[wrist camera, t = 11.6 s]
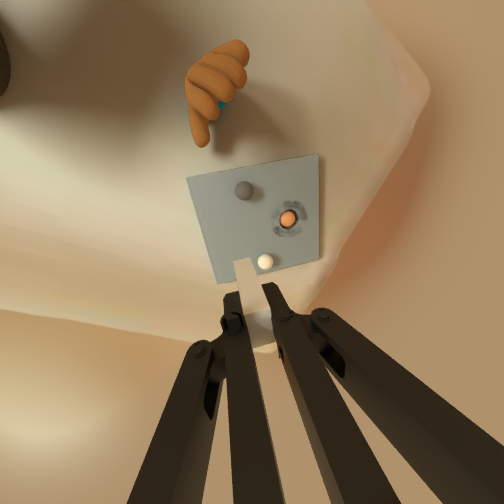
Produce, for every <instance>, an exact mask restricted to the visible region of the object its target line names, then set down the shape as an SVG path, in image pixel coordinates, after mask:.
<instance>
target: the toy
mask: <svg viewBox="0 0 504 504" xmlns="http://www.w3.org/2000/svg"><path fill="white" fill-rule="evenodd" d="M249 57H250V56H249V50H248V48H247V46H246V45H245V44H244V43H243V42H242V41H240V40H233V41H230V42H228V43H225V44H223V45H221V46H219V47H217V48H215V49H214V50H212V51H211V52H209V53H207V54H205V55H204V56H203V57H202V58H201V59H200V60H199V61H198V62H197V63H195V64H194V65H193V66H192V67H191V68H190V69H189V70H188V72H187V74H186V78H185V96H186V99H187V105H188V112H189V120H190V126H191V131H192V135H193V138H194V141H195V143H196V145H197V146H198V147H200V148H202V147H205V146H206V145H207V144H208V143H209V141H210V134H209V129H208V125H209V121H210V120H216V119H217V118H218V117H219V115H220V112H221V110H222V109H223V108H224V106H225V105H226V103H229V102H231V101H232V100H233V98H234V95H235V89H234V88H236V89H242V88H243V87H244V86H245V84H246V80H247V75H246V71H245V69H244V68H243V67H245V66H246V65H247V63H248V61H249Z"/></svg>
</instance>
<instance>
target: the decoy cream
mask: <svg viewBox="0 0 504 504" xmlns="http://www.w3.org/2000/svg"><path fill="white" fill-rule="evenodd" d="M258 265H259V267H260V268H262V269H269V268H271V267H272V265H273V259H272V257H271V256H270V255H268V254H263V255H261V256H260V257H259V258H258Z"/></svg>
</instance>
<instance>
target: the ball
mask: <svg viewBox="0 0 504 504" xmlns="http://www.w3.org/2000/svg"><path fill="white" fill-rule="evenodd" d="M279 221H280V223H281V224H282V225H283V226H286V227H288V226H291V225H292V224H293V223H294V222H295V215H294V214H293V213H292V212H291V211H284V212H283V213H282V214H281V216H280V219H279Z"/></svg>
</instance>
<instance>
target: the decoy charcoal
mask: <svg viewBox="0 0 504 504" xmlns="http://www.w3.org/2000/svg"><path fill="white" fill-rule="evenodd" d="M253 191H254V190H253V187H252V185H251V184H250V183H249V182H247V181H242V182H239V183H238V184H237V185H236V188H235V194H236V196H237V197H238V198H239V199H240V200H243V201H246V200H249V199H250V198H251V197H252V195H253Z"/></svg>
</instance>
